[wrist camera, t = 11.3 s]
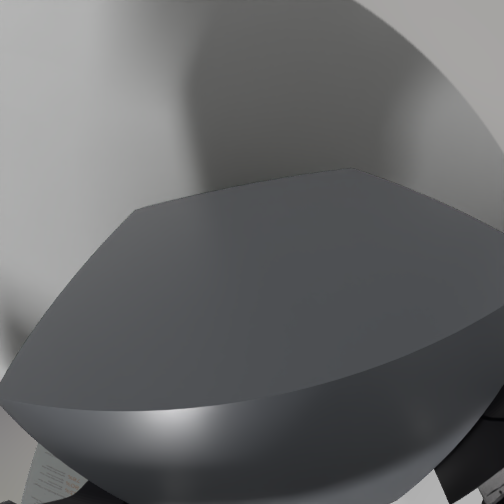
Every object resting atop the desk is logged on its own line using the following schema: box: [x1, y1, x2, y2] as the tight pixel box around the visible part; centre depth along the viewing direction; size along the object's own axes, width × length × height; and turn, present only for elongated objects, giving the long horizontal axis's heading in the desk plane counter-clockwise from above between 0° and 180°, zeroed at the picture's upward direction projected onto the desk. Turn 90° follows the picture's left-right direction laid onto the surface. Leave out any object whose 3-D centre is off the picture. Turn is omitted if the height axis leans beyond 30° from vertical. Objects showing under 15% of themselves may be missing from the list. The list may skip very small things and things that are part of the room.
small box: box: [21, 443, 88, 504], centre depth 15 cm, size 8×6×13 cm
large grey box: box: [0, 168, 504, 504], centre depth 8 cm, size 8×12×8 cm, turn 10°
